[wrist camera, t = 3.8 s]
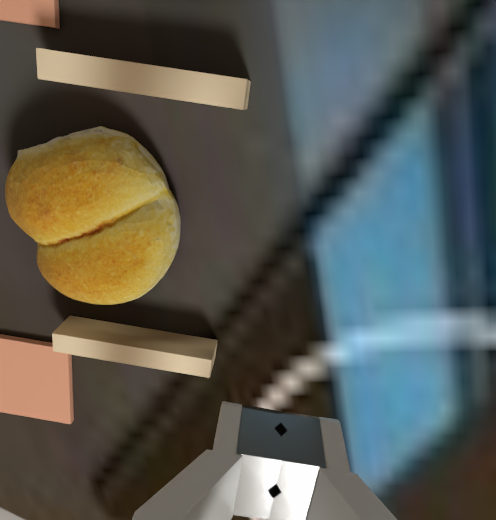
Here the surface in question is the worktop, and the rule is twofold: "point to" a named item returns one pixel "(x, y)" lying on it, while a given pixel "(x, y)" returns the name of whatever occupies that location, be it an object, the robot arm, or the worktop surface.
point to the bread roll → (95, 214)
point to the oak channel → (159, 85)
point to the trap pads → (22, 349)
